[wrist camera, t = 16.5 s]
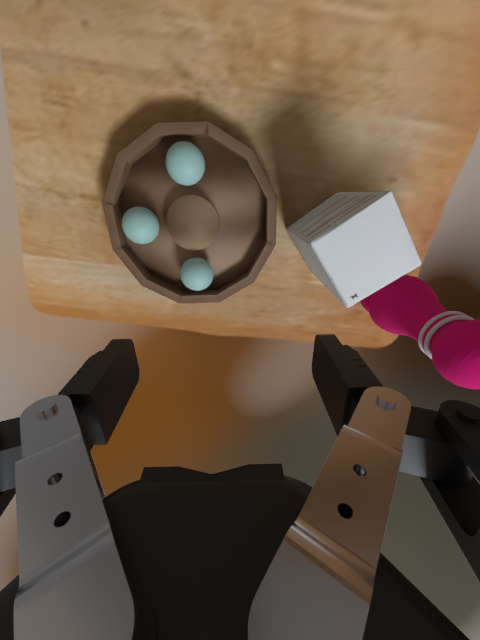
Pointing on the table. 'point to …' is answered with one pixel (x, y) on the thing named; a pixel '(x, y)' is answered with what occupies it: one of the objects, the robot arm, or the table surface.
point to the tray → (193, 212)
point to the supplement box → (355, 243)
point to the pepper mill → (430, 327)
